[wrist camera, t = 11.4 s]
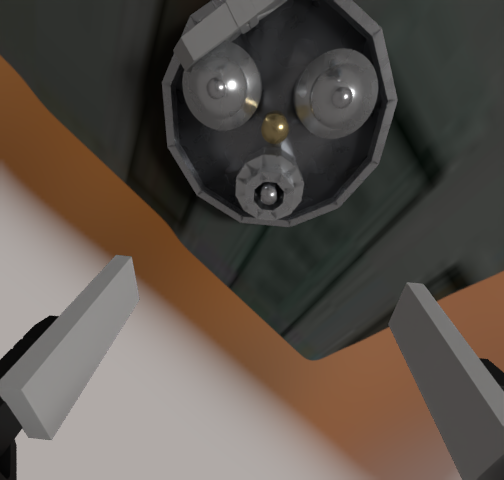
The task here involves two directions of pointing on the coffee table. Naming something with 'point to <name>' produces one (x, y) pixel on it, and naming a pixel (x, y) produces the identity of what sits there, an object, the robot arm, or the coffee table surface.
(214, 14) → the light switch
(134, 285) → the robot arm
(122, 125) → the coffee table surface
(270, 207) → the grey nut
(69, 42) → the coffee table surface
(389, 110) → the carrier
